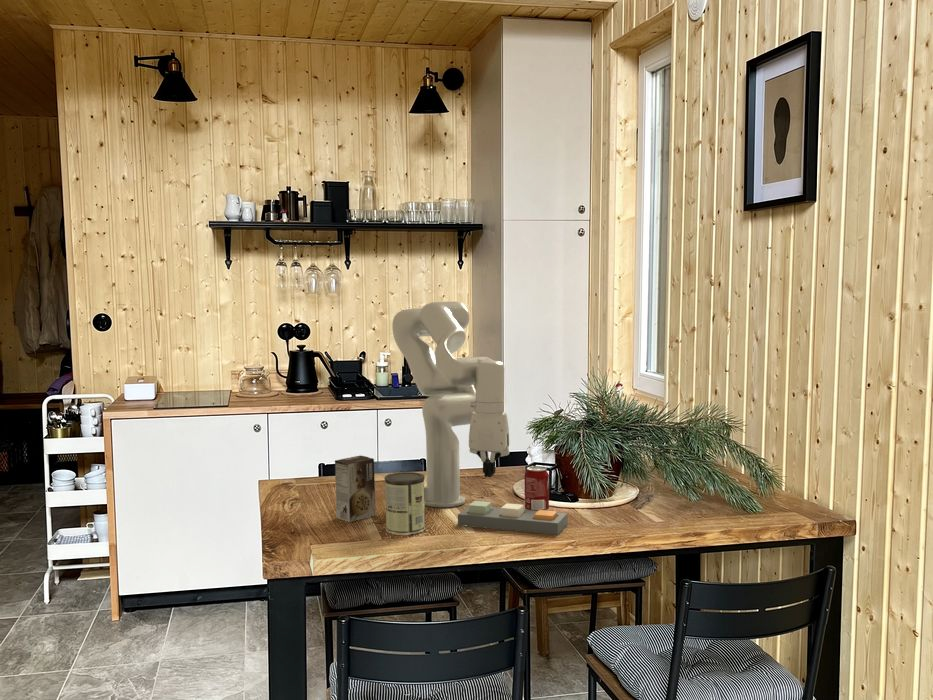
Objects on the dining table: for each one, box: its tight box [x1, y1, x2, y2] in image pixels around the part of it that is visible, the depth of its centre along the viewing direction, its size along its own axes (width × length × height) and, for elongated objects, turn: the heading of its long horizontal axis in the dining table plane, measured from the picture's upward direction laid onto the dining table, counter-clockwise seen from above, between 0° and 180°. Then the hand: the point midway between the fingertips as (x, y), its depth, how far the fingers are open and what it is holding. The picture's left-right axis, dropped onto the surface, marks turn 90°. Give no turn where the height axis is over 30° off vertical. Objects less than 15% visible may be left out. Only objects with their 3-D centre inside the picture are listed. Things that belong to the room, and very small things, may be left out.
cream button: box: [500, 502, 525, 517], centre depth 232 cm, size 5×5×2 cm
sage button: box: [468, 500, 493, 515], centre depth 235 cm, size 5×5×2 cm
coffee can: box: [384, 471, 426, 535], centre depth 228 cm, size 10×10×14 cm
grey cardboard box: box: [334, 455, 377, 523], centre depth 241 cm, size 9×6×16 cm
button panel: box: [457, 506, 568, 536], centre depth 232 cm, size 27×10×3 cm, turn 70°
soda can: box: [524, 465, 550, 511], centre depth 246 cm, size 7×7×12 cm
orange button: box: [534, 510, 558, 520], centre depth 229 cm, size 5×5×2 cm
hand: (489, 475), depth 234 cm, fingers closed
